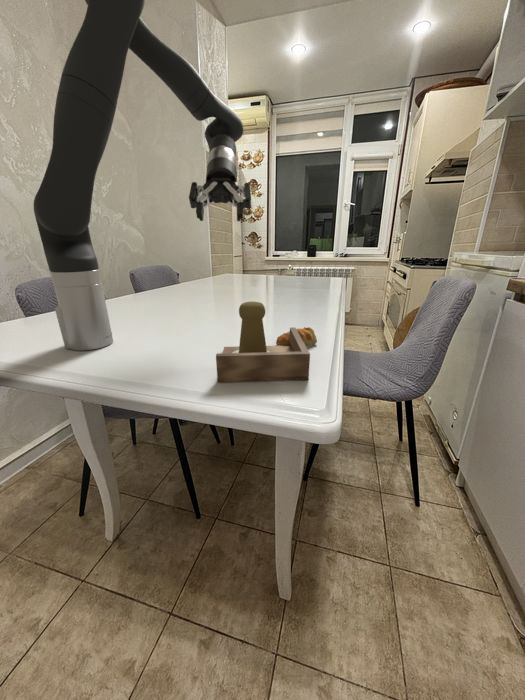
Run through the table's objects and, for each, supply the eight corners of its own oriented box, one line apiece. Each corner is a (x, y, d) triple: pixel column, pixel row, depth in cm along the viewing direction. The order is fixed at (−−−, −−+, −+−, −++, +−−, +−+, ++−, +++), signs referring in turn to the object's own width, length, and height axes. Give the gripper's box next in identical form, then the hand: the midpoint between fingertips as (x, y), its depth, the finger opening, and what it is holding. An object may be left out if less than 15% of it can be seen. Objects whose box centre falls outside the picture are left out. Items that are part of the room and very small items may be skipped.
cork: (268, 350, 63) (268, 299, 59) (266, 360, 57) (266, 305, 53) (240, 349, 63) (239, 299, 59) (236, 360, 58) (233, 305, 54)
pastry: (284, 352, 65) (285, 336, 63) (270, 343, 70) (270, 328, 69) (319, 345, 68) (320, 330, 67) (303, 338, 74) (303, 323, 73)
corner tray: (217, 382, 51) (215, 356, 49) (224, 350, 65) (223, 328, 64) (308, 380, 51) (310, 353, 49) (294, 348, 66) (295, 327, 64)
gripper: (190, 155, 69) (184, 203, 62) (250, 156, 69) (251, 203, 62) (196, 185, 75) (191, 231, 69) (250, 185, 76) (251, 231, 69)
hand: (219, 218), depth 66 cm, fingers open, 8 cm apart
